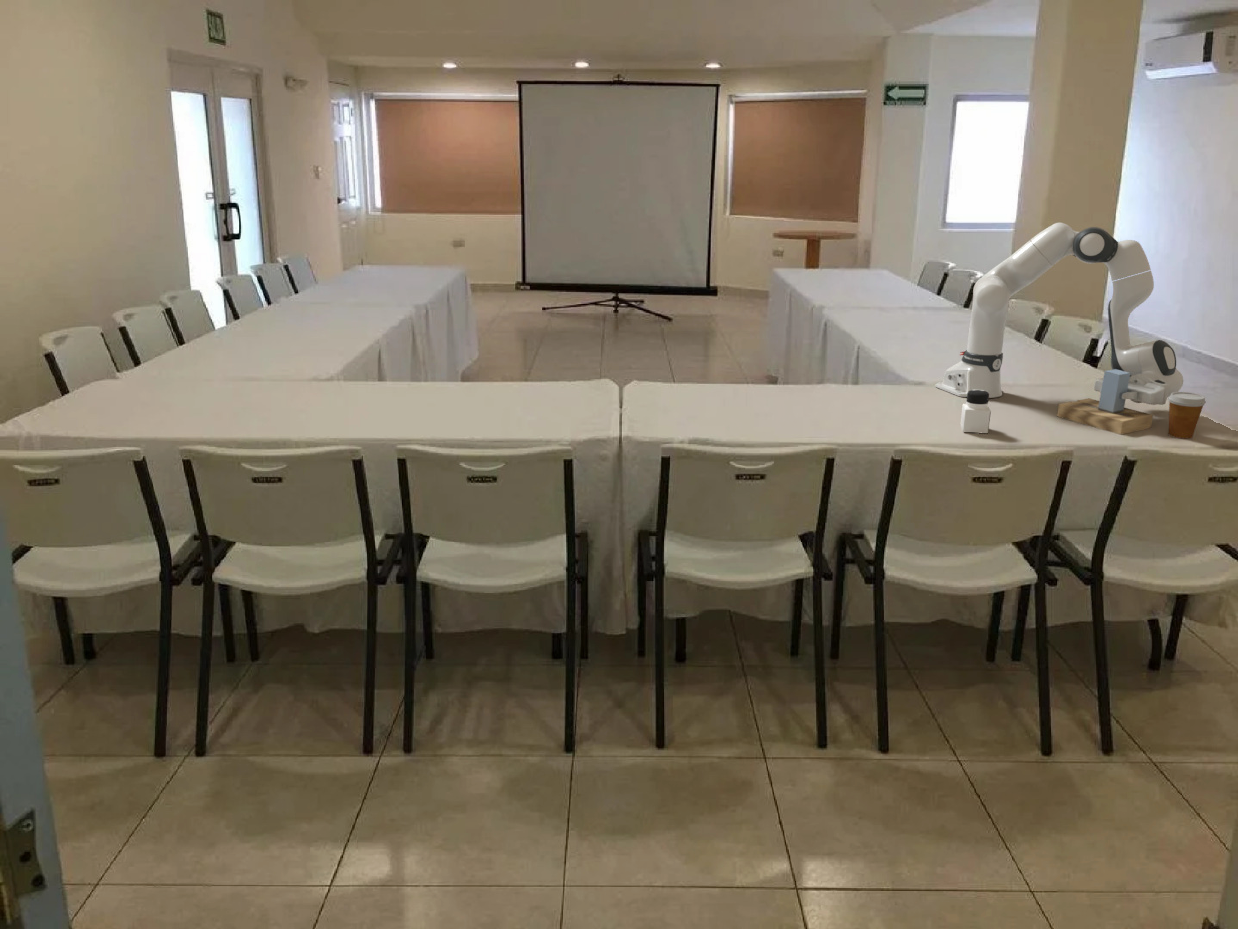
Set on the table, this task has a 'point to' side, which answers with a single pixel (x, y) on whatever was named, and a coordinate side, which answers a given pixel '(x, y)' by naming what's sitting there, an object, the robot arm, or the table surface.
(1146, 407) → the table surface
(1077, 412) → the board
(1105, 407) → the block
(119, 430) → the table surface
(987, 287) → the robot arm
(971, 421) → the medicine bottle
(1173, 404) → the disposable coffee cup
